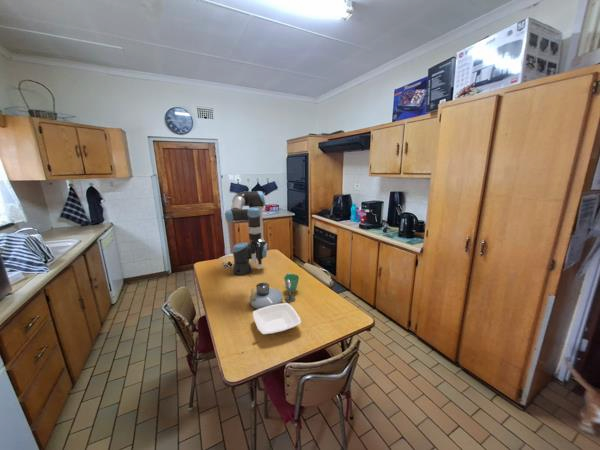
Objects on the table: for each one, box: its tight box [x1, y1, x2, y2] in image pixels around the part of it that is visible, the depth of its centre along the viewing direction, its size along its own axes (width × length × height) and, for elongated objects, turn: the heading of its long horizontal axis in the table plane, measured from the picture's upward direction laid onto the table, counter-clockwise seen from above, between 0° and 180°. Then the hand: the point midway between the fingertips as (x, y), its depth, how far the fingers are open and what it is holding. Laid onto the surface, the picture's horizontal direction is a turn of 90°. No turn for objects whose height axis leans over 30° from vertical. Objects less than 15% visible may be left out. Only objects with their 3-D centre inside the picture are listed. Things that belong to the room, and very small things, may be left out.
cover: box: [255, 282, 270, 296], centre depth 153 cm, size 8×8×5 cm
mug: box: [283, 272, 300, 293], centre depth 165 cm, size 15×10×10 cm
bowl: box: [252, 302, 302, 335], centre depth 128 cm, size 22×23×6 cm
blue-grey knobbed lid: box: [249, 287, 283, 310], centre depth 149 cm, size 20×20×10 cm
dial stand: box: [284, 279, 296, 304], centre depth 151 cm, size 5×5×14 cm
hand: (256, 265), depth 158 cm, fingers open, 10 cm apart
